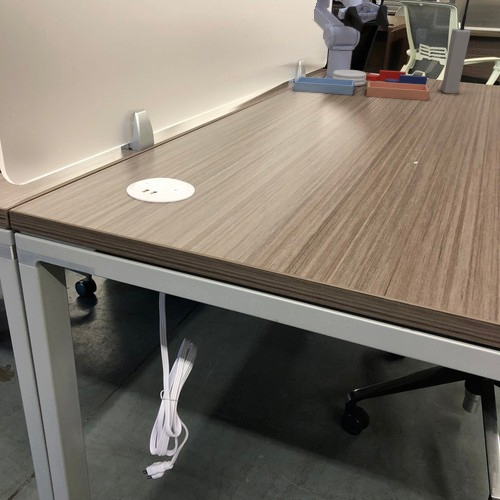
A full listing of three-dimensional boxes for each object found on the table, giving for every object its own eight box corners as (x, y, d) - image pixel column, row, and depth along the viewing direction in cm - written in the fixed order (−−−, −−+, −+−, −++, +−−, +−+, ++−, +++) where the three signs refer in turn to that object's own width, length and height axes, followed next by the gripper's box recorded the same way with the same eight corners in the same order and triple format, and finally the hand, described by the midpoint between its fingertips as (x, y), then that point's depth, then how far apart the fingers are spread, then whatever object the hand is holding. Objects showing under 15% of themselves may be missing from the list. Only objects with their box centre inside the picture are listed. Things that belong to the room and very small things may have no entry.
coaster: (325, 81, 157) (326, 70, 155) (352, 80, 161) (353, 68, 159) (344, 87, 149) (345, 75, 147) (371, 85, 153) (373, 73, 151)
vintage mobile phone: (452, 90, 149) (472, -4, 137) (457, 94, 144) (478, -4, 133) (439, 90, 149) (458, -5, 137) (444, 93, 145) (463, -5, 133)
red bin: (367, 89, 147) (368, 81, 146) (425, 93, 144) (426, 84, 143) (366, 96, 138) (367, 86, 137) (427, 100, 135) (429, 91, 134)
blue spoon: (384, 85, 154) (385, 75, 153) (384, 83, 158) (385, 73, 157) (425, 88, 152) (427, 77, 151) (424, 85, 156) (426, 75, 154)
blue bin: (299, 84, 151) (299, 76, 149) (354, 88, 147) (355, 80, 146) (293, 90, 142) (294, 82, 141) (352, 95, 139) (353, 85, 138)
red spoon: (365, 80, 161) (366, 70, 160) (365, 78, 165) (366, 68, 164) (404, 83, 159) (406, 73, 158) (404, 80, 163) (405, 71, 162)
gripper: (336, -10, 142) (353, 13, 134) (383, -11, 145) (403, 12, 137) (331, 15, 147) (347, 39, 139) (376, 14, 150) (395, 37, 142)
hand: (374, 27), depth 138 cm, fingers open, 7 cm apart
